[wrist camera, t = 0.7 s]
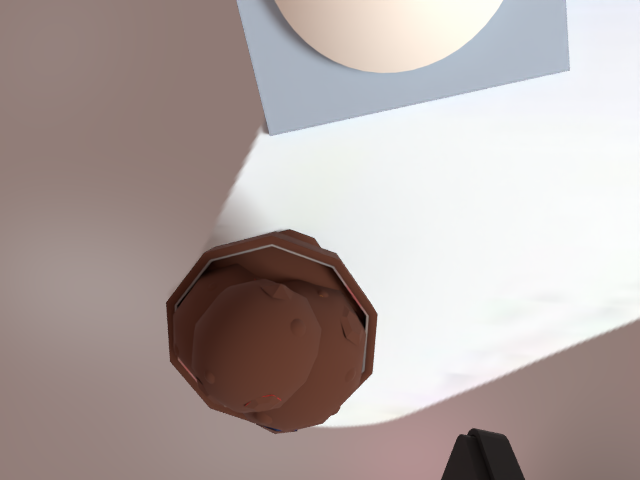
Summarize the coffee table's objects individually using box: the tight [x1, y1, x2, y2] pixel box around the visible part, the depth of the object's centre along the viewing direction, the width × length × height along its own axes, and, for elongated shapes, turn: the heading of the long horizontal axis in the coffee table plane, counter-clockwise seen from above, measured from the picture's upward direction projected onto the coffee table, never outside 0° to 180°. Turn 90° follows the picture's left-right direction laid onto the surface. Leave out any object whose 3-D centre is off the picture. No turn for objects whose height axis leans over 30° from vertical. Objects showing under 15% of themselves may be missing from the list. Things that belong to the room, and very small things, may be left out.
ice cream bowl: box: [166, 230, 377, 434], centre depth 28 cm, size 11×11×15 cm
